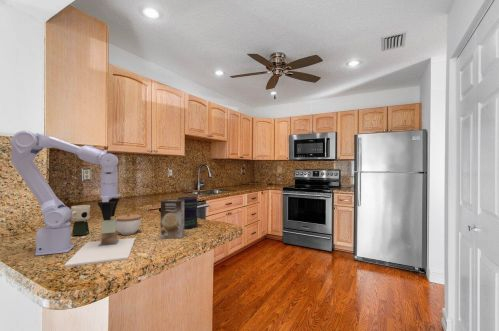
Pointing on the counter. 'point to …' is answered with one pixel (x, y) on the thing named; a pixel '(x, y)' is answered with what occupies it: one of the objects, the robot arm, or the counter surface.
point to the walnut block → (108, 238)
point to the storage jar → (190, 212)
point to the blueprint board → (102, 252)
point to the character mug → (80, 219)
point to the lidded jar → (128, 223)
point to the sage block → (109, 226)
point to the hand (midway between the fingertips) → (109, 218)
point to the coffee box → (172, 218)
